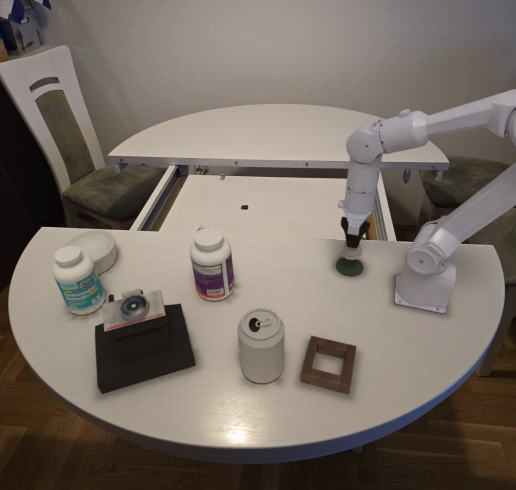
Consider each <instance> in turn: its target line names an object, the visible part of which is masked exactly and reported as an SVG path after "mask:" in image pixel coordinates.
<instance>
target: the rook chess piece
mask: <svg viewBox="0 0 516 490" xmlns="http://www.w3.org/2000/svg"><path fill="white" fill-rule="evenodd" d="M362 251H363V250H362V246H361V243H359V246H358V247H357V249H355V248H350V247H347V245H346V241H344V243H342V245H341V249H340V255H341V256H342V258H343V257H344V258H346V259H349V260H355V259H358V260H359V258H360V257H362V254H363V253H362Z"/></svg>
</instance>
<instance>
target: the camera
mask: <svg viewBox="0 0 516 490" xmlns="http://www.w3.org/2000/svg"><path fill="white" fill-rule="evenodd" d="M162 293H163V292H162V290H161V289H157V290H154V291H150V292H145V293H144V291H143V289H141V288H135V289H132V290H128V291H125V292H121V296H122V298H121V299H117V300H115V296H114V294H112V293H111V294H108V295H107V299H108V300H107V301H108V302H106V303H103V304H102V306H101V307H102V319H103V321H102V323H100V324H99V323H98V324H97V325H95V326H94V347H95V365H96V368H95V369H96V385H97V388H98V390H99V391H100V393H101V394H102V395H105V394H107V393H110V392H114V391H117V390H120V389H123V388H127V387H131V386H134V385H138V384H140V383H144V382H147V381H151V380H153V379H156V378H159V377H163V376H166V375H170V374H172V373H176V372H179V371H183V370H186V369H189V368H193V367H196V366H197V364H196V359H195V355H194V351H193V348H192V343H191V338H190V335H189V331H188V328H187V322H186V319H185V314H184V311H183V307H182V303H174V304H173V303H172V304H164V298H163V294H162Z"/></svg>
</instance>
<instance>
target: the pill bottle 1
mask: <svg viewBox="0 0 516 490" xmlns="http://www.w3.org/2000/svg"><path fill="white" fill-rule="evenodd" d="M53 259H54V261H55V262H54V264H53V266H52V270H51V273H52V276H53V278H54V281H55V282H56V285H57V287H58V289H59V292H60V294H61V296H62V299H63V300H64V303H65V305H66V307H67V309H68V311H69V312H71V313H72V314H74V315H77V316H78V315H79V316H83V315H89V314H92V313H94V312H96V311H98V309H101V307H102V304H105V301H106V292H105V289H104V287H103V284H102V281H101V279H100V276H99V274H98V273H97V270H96V268H95V265H94V262H93V260H92V258H91V257H90V256H89V255H87V254H84V253H82V252H81V249H80V248H79V247H77V246H66V247H65V246H63V247H61V248H59V249H58V250H57V251H56V252H55V253H54V256H53Z"/></svg>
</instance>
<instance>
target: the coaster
mask: <svg viewBox="0 0 516 490" xmlns="http://www.w3.org/2000/svg"><path fill="white" fill-rule="evenodd" d="M335 269H336V271H337V272H338V273H339V274H341V275H343V276H346V277H357V276H360V275H361V274H362V273H363V271H364V264H363V263H362V261H360V260H359V258H358V259H355V260H349V259H346V258H344V257H343V256H342V257H340V258H338V259H337V260H336V262H335Z"/></svg>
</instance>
